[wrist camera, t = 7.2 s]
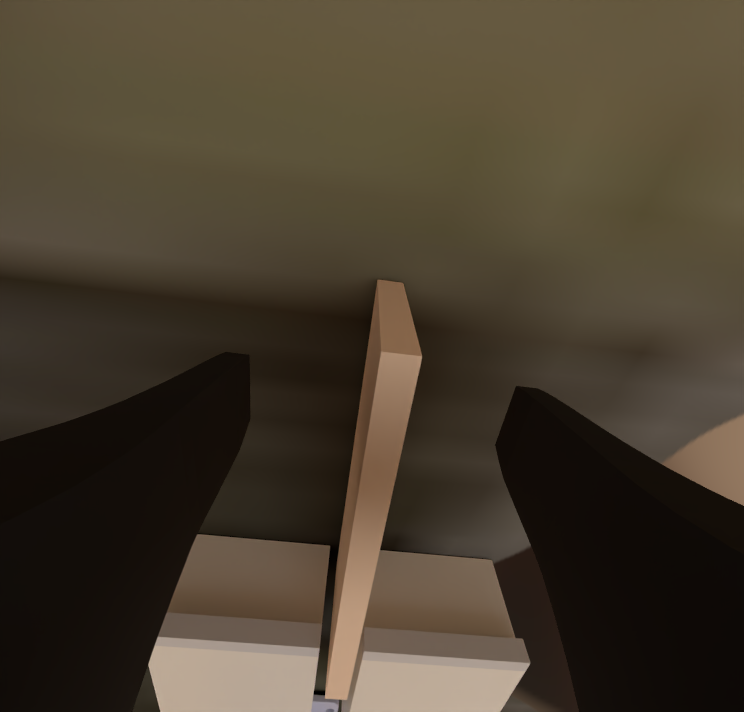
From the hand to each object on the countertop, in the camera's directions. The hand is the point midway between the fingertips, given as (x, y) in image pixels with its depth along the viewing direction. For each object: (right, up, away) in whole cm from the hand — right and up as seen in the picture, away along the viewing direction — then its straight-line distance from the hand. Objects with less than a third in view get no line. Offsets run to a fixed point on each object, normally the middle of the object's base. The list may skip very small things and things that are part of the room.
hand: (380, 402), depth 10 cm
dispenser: (-2, -12, +10) cm, 15 cm away
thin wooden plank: (-1, -2, +5) cm, 5 cm away
